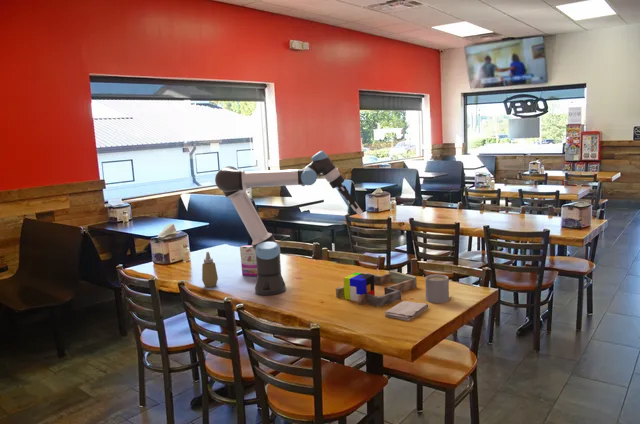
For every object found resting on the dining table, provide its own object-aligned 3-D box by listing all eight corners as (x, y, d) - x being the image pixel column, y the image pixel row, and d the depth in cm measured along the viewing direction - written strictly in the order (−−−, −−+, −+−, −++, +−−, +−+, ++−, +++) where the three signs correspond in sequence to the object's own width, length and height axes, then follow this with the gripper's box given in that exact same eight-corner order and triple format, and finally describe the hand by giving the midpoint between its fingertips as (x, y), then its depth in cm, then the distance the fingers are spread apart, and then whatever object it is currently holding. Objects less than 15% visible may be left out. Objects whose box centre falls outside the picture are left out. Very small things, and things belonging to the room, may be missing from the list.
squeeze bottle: (221, 284, 276) (218, 250, 274) (212, 288, 269) (209, 254, 266) (209, 283, 280) (206, 250, 277) (199, 287, 273) (196, 253, 270)
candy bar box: (264, 274, 291) (261, 245, 289) (259, 276, 286) (257, 247, 284) (246, 273, 295) (244, 244, 293) (241, 275, 291) (239, 246, 288)
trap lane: (372, 309, 226) (372, 297, 225) (326, 293, 251) (325, 283, 250) (428, 290, 247) (428, 279, 247) (380, 277, 273) (380, 267, 272)
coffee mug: (443, 304, 227) (443, 281, 225) (422, 301, 233) (421, 279, 231) (455, 295, 238) (454, 273, 236) (434, 292, 243) (434, 271, 242)
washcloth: (383, 318, 216) (383, 310, 216) (403, 304, 231) (403, 298, 230) (410, 323, 209) (409, 315, 209) (428, 309, 224) (428, 302, 223)
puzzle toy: (363, 302, 236) (362, 280, 234) (344, 299, 242) (343, 277, 240) (374, 296, 244) (373, 275, 242) (356, 292, 250) (355, 272, 248)
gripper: (343, 175, 255) (368, 210, 259) (337, 172, 280) (360, 203, 284) (330, 185, 256) (356, 219, 259) (326, 180, 280) (349, 212, 284)
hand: (358, 211), depth 271 cm, fingers open, 13 cm apart
